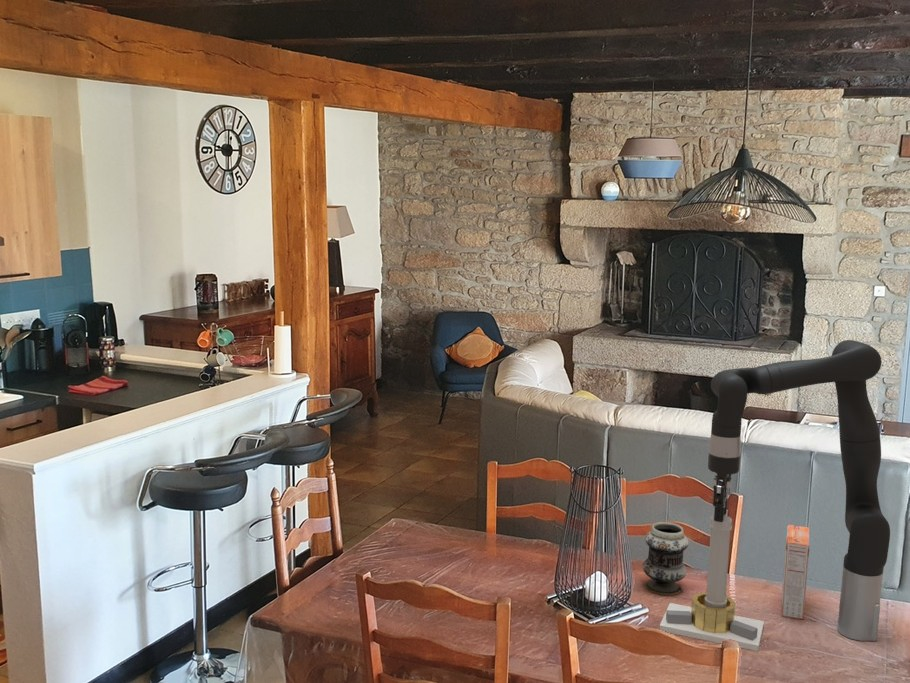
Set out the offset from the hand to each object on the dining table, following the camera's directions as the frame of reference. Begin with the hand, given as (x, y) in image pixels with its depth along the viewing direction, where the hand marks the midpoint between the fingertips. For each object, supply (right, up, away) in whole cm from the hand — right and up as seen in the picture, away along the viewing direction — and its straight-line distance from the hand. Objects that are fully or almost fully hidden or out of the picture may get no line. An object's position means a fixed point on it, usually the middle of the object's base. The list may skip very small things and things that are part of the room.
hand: (720, 517), depth 230 cm
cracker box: (+25, -28, +18) cm, 41 cm away
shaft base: (-1, -29, +5) cm, 30 cm away
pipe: (0, -24, +4) cm, 25 cm away
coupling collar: (-1, -28, +5) cm, 28 cm away
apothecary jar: (-8, -26, +29) cm, 39 cm away
